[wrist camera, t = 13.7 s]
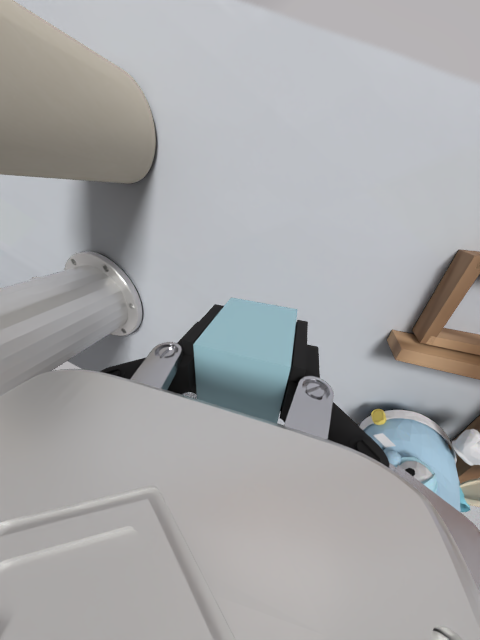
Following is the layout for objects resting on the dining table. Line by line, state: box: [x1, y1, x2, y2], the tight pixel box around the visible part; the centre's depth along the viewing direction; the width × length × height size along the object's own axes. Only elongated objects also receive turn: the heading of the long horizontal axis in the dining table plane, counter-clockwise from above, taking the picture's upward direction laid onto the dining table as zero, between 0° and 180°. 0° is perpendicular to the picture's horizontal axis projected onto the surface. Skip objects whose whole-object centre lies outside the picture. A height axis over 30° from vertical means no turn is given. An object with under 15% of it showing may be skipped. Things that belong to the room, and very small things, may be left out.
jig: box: [387, 250, 480, 484], centre depth 21 cm, size 12×31×3 cm, turn 177°
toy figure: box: [359, 409, 480, 513], centre depth 18 cm, size 17×10×15 cm, turn 139°
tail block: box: [193, 298, 297, 423], centre depth 11 cm, size 4×4×5 cm
